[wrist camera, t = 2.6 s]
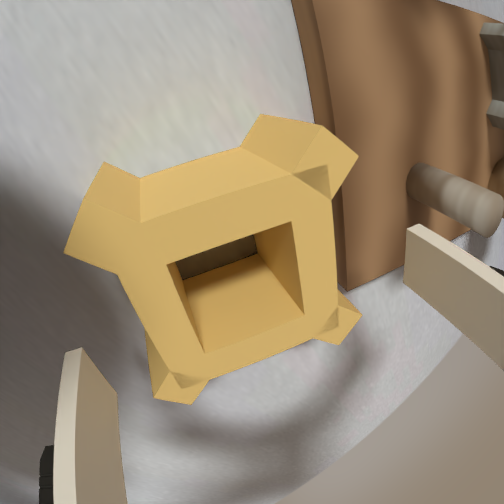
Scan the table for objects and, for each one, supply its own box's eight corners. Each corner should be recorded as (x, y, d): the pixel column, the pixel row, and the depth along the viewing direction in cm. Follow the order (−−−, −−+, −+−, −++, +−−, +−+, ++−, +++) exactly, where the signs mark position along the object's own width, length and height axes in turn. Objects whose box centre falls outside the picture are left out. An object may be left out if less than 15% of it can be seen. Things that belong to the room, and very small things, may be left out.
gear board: (331, 275, 22) (405, 350, 15) (289, -9, 12) (393, -56, 6) (506, 194, 26) (562, 223, 19) (504, 29, 17) (572, 39, 10)
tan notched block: (152, 336, 19) (165, 412, 14) (78, 172, 13) (45, 214, 8) (310, 277, 21) (361, 333, 16) (285, 108, 15) (355, 119, 10)
